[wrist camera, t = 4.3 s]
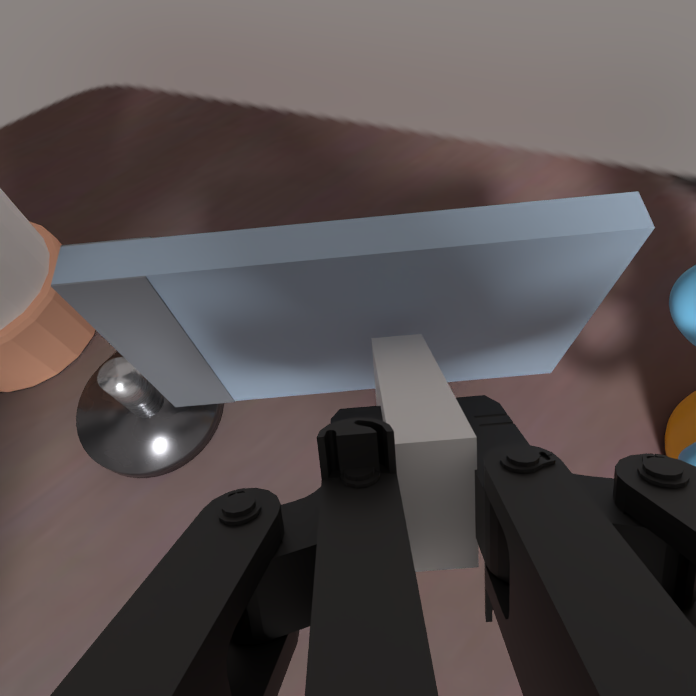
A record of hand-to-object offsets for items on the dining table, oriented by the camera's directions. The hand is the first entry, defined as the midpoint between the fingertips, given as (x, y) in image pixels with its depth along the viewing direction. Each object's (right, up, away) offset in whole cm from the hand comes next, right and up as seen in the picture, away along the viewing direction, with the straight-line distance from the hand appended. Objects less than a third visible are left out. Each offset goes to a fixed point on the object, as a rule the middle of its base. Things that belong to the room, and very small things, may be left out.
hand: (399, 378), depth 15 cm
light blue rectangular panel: (-1, 0, +5) cm, 5 cm away
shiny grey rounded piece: (-10, -2, +7) cm, 12 cm away
